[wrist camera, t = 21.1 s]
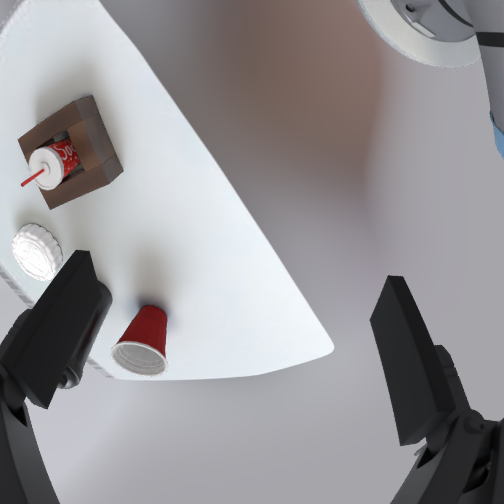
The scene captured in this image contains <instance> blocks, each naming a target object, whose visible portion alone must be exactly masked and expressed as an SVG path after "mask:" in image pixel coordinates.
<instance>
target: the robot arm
mask: <svg viewBox="0 0 504 504" xmlns="http://www.w3.org/2000/svg"><path fill="white" fill-rule="evenodd" d="M390 1H391V3H392V5H393V7H394V8H395V10H396V11H397V12H398V14H399V15H400V16H401V17H402V18H403V20H404V21H405V22H406V23H407V24H409V25H410V26H411V27H412V28H413V29H415V30H416V31H417V32H419V33H420V34H422V35H424V36H426V37H428V38H430V39H433V40H436V41H440V42H462V41H465V40H468V39H470V38H471V37H473V36H474V35H476V37H477V41H478V46H479V50H480V54H481V58H482V62H483V67H484V72H485V77H486V82H487V88H488V94H489V101H490V109H491V110H490V118H491V121H492V123H493V127H494V134H495V142H496V146H497V149H498V151H499V153H500V154H501V156H502V158H503V159H504V0H390ZM101 299H102V294H101V291H100V287H99V284H98V280H97V277H96V273H95V270H94V266H93V262H92V259H91V255H90V251H84V250H75V252H74V253H73V254H72V256H71V257H70V258H69V259H68V261H67V262H66V263H65V264H64V266H63V267H62V268H61V270H60V271H59V272H58V274H57V275H56V276H55V278H54V279H53V280H52V282H51V283H50V284H49V286H48V287H47V289H46V290H45V291H44V293H43V294H42V296H41V297H40V299H39V300H38V301H37V303H36V304H35V306H34V307H33V309H27V310H25V311H24V312H23V313H22V314H21V315H20V316H19V317H18V318H17V320H16V321H15V323H14V324H13V327H11V329H10V330H9V332H8V335H6V337H5V338H4V340H3V341H2V343H1V345H0V504H60V503H59V500H58V498H57V496H56V494H55V491H54V489H53V486H52V484H51V481H50V479H49V476H48V474H47V471H46V468H45V466H44V463H43V460H42V457H41V454H40V451H39V448H38V445H37V442H36V438H35V435H34V432H33V428H32V425H31V421H30V417H29V413H28V409H27V406H26V404H25V402H24V400H25V398H26V396H27V397H28V399H30V401H31V402H32V403H33V404H34V405H37V406H39V407H42V408H44V409H48V407H49V404H50V402H51V400H52V397H53V395H54V393H55V390H56V388H57V386H58V384H59V382H60V379H61V377H62V375H63V373H64V371H65V369H66V367H67V364H68V362H69V360H70V358H71V356H72V354H73V352H74V350H75V348H76V346H77V344H78V342H79V340H80V338H81V336H82V334H83V332H84V330H85V328H86V326H87V325H88V323H89V321H90V319H91V317H92V315H93V313H94V311H95V310H96V308H97V306H98V304H99V302H100V301H101ZM370 322H371V326H372V330H373V333H374V337H375V340H376V344H377V347H378V350H379V355H380V358H381V362H382V366H383V370H384V374H385V378H386V382H387V386H388V390H389V394H390V399H391V403H392V408H393V412H394V417H395V421H396V426H397V431H398V436H399V441H400V446H404V445H410V444H416V443H418V442H420V441H421V440H422V439H423V438H424V437H426V441H427V444H425V445H424V446H423V447H422V448H420V449H419V450H418V451H417V452H416V453H415V454H414V455H415V456H417V455H418V454H419V453H420V455H419V457H418V458H417V460H416V462H415V464H414V466H413V467H412V469H411V471H410V473H409V474H408V476H407V478H406V479H405V481H404V483H403V484H402V486H401V488H400V489H399V491H398V492H397V494H396V496H395V497H394V499H393V500H392V502H391V503H390V504H504V418H503V419H502V420H501V421H500V422H498V421H490V420H484V418H483V417H482V415H481V414H480V413H479V412H477V411H475V410H472V409H471V408H470V406H469V403H468V400H467V397H466V395H465V392H464V389H463V386H462V384H461V381H460V378H459V376H458V373H457V371H456V368H454V363H453V361H452V358H451V356H450V354H449V353H448V352H447V350H446V349H445V348H444V347H443V346H442V345H434V344H433V342H432V340H431V337H430V335H429V332H428V330H427V328H426V325H425V323H424V321H423V318H422V316H421V314H420V311H419V309H418V307H417V305H416V303H415V301H414V298H413V296H412V294H411V292H410V290H409V288H408V286H407V284H406V282H405V280H404V277H403V276H390V275H388V277H387V279H386V282H385V284H384V287H383V290H382V292H381V295H380V297H379V299H378V302H377V304H376V307H375V309H374V311H373V314H372V316H371V318H370Z"/></svg>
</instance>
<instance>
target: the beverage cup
mask: <svg viewBox="0 0 504 504" xmlns="http://www.w3.org/2000/svg"><path fill="white" fill-rule="evenodd" d="M80 163H81V162H80V159H79V157H78V155H77V153H76V150H75V148H74V146H73V143H72V141H71V139H70V137H69V138H66V139H64V140H62V141H59V142H57V143H55V144H52V145H50V146H48V147H42V148H39V149H37V150H35V151H34V152H33V154H32V155H31V157H30V160H29V172H30V175H31V177H30V178H28V179H27V180H25V181H24V182H23V183H21V186H22V187H23V186H25V185H26V184H27V183H29V182H30V181H31V180H33V181H34V182H35V184H36V185H37V186H39V187H40V188H41V189H45V190H51V189H54V188H55V187H56V186H57V185H58V184H59V183H61V181H62V179H63V178H64V177H65V176H66V175H67V174H68V173H70V172H71V171H72V170H73V169H74V168H75V167H77V166H78V165H79V164H80Z"/></svg>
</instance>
